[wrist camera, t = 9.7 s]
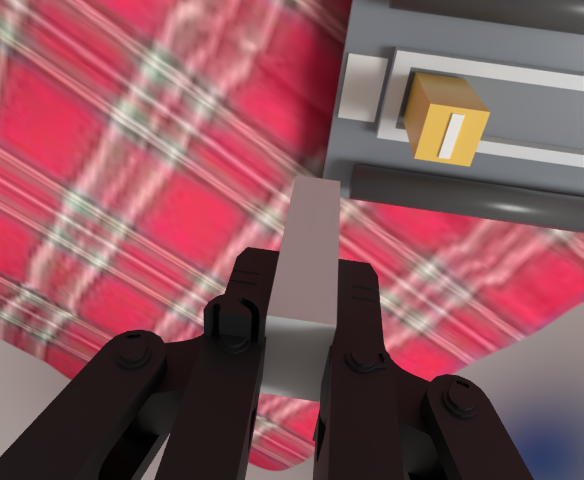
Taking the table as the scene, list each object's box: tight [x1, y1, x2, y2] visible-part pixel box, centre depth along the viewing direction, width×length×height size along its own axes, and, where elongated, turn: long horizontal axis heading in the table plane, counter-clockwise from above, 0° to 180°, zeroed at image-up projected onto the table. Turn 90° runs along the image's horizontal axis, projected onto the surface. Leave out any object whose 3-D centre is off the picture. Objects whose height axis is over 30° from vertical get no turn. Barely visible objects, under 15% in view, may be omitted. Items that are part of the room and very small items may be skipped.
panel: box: [322, 0, 584, 233], centre depth 28 cm, size 22×16×5 cm
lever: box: [403, 72, 490, 167], centre depth 25 cm, size 3×3×6 cm
